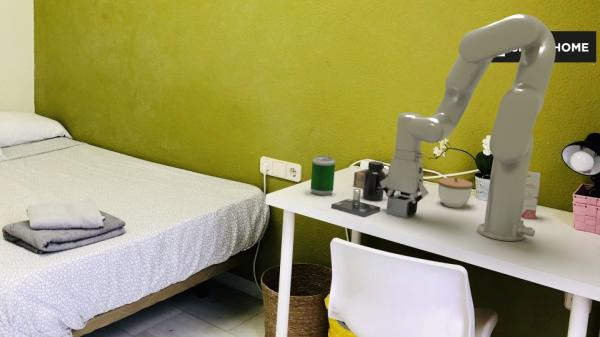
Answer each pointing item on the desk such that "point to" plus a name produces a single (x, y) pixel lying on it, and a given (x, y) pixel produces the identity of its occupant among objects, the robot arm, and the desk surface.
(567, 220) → the desk surface
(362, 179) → the organizer frame
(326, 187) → the soda can
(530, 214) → the ink cartridge box
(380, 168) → the supplement bottle
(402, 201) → the block
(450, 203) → the lidded jar
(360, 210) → the stand
